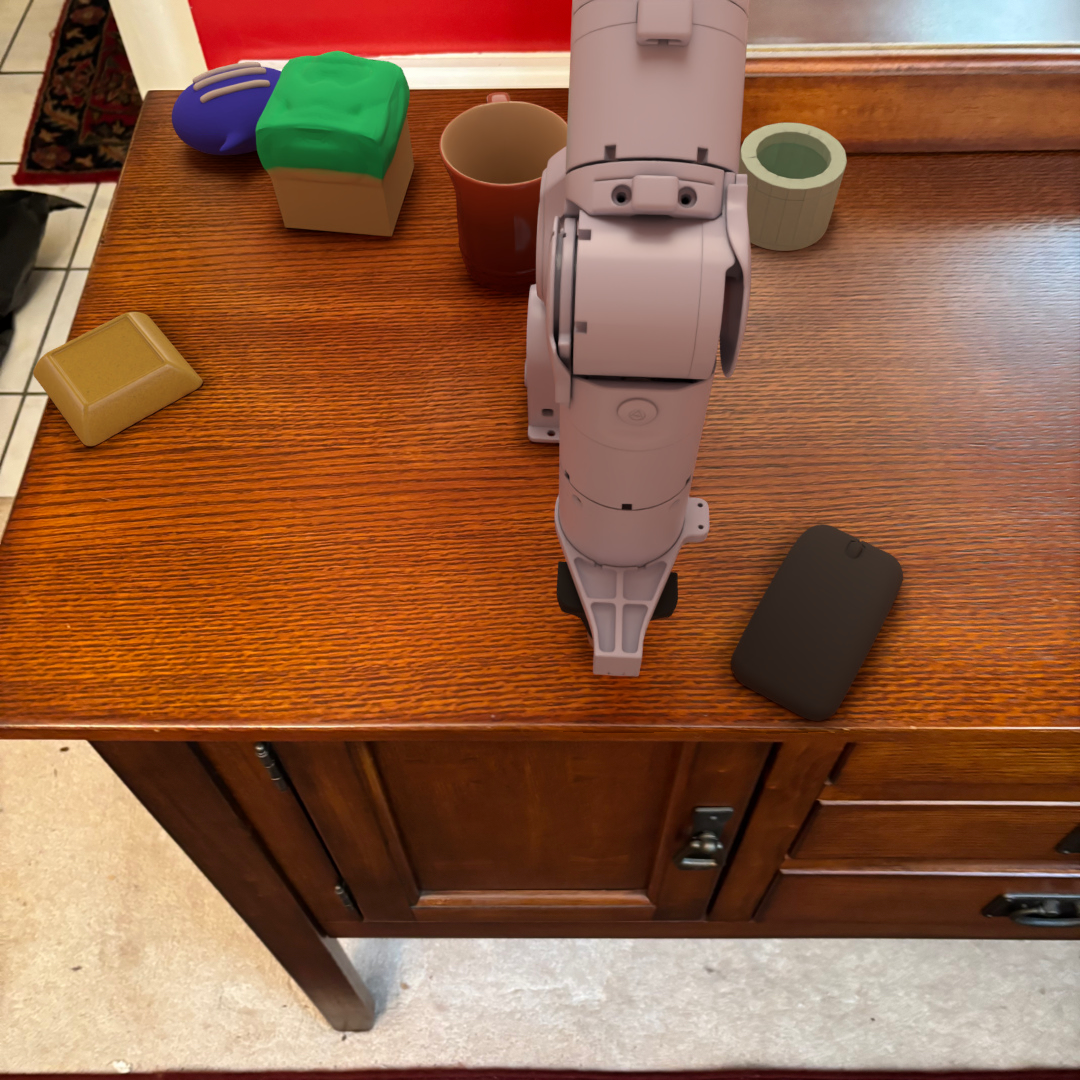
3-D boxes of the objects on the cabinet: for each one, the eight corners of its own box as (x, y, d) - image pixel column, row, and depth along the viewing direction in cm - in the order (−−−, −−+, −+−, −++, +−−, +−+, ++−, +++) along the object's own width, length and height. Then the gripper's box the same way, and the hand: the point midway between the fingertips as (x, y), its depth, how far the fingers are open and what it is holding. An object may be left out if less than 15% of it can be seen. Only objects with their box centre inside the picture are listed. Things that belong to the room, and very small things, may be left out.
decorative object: (155, 99, 70) (163, 58, 77) (177, 179, 74) (183, 133, 81) (303, 86, 72) (297, 47, 79) (316, 165, 75) (310, 121, 83)
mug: (579, 301, 69) (583, 179, 60) (456, 312, 69) (442, 191, 60) (559, 192, 75) (559, 67, 67) (446, 201, 75) (432, 77, 66)
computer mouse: (905, 576, 57) (928, 539, 53) (827, 730, 52) (846, 700, 48) (806, 528, 59) (821, 489, 55) (721, 672, 54) (732, 640, 50)
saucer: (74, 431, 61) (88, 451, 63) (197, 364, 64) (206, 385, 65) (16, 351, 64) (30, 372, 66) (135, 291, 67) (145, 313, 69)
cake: (428, 153, 78) (412, 31, 69) (399, 244, 72) (379, 123, 64) (309, 144, 79) (280, 22, 70) (272, 233, 73) (235, 112, 64)
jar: (731, 249, 72) (743, 187, 67) (727, 184, 76) (738, 120, 71) (832, 252, 71) (852, 190, 67) (823, 187, 75) (841, 123, 71)
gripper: (731, 612, 37) (688, 740, 48) (717, 330, 44) (683, 499, 56) (544, 603, 37) (546, 733, 48) (563, 325, 45) (561, 494, 56)
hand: (611, 607), depth 52 cm, fingers open, 3 cm apart
